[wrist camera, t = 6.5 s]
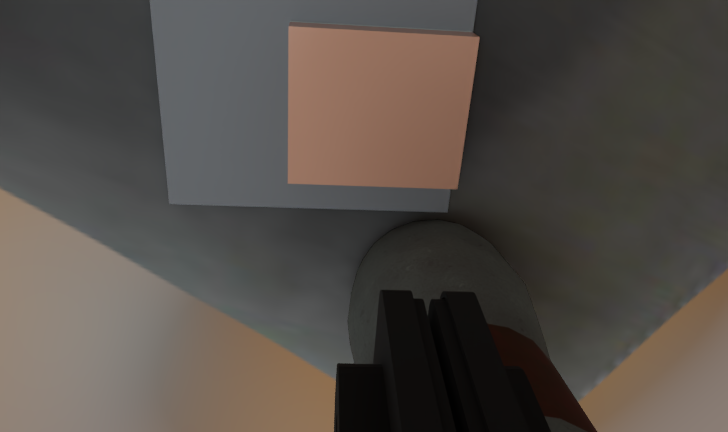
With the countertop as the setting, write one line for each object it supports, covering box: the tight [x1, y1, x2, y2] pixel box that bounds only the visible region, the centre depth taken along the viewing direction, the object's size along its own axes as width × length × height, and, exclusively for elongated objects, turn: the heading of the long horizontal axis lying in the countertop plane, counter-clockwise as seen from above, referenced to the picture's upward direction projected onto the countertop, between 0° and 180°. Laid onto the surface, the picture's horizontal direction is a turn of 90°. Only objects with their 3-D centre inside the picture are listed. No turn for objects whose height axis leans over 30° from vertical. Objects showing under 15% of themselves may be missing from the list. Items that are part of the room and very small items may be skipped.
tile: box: [288, 21, 480, 189], centre depth 26 cm, size 2×7×8 cm
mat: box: [150, 0, 477, 212], centre depth 27 cm, size 14×11×1 cm
